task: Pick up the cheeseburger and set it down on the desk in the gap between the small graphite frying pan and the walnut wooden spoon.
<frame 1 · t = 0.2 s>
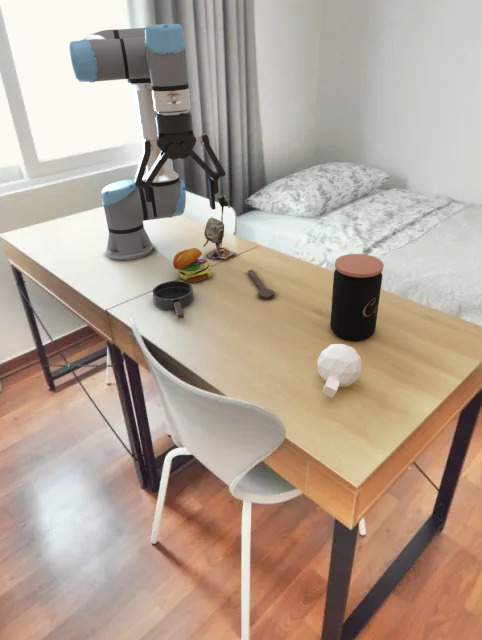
hand: (184, 211, 107), 28 cm above the table, tool pointing down, fingers open, 13 cm apart
cheeseburger: (193, 277, 141), on the table
perfume bottle: (333, 385, 96), on the table
coffee jar: (352, 331, 112), on the table
pan handle: (179, 317, 121), on the table
pan: (174, 301, 129), on the table
wooden spoon: (260, 287, 133), on the table
grey brown figurine: (218, 255, 154), on the table
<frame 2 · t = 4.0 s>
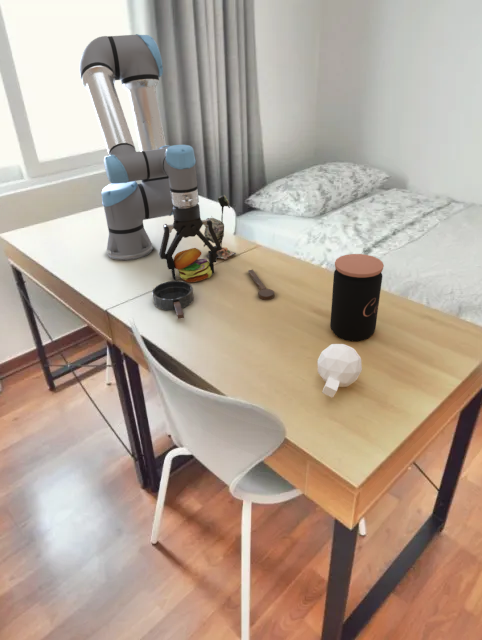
hand: (193, 275, 141), 1 cm above the table, tool pointing down, fingers closed on cheeseburger, 11 cm apart
cheeseburger: (193, 277, 141), on the table, touching gripper
everything else where it was.
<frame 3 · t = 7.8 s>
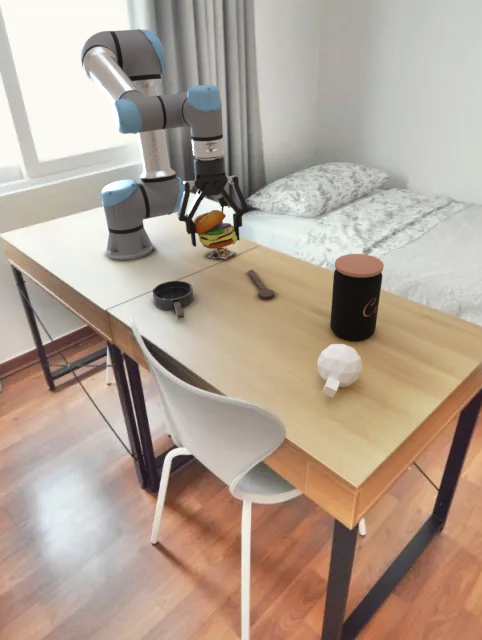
hand: (215, 241, 124), 15 cm above the table, tool pointing down, fingers closed on cheeseburger, 11 cm apart
cheeseburger: (215, 244, 124), point 15 cm above the table, touching gripper
everything else where it was.
when the fingers open (0 cm above the table, at t = 11.9 s): cheeseburger stays where it is, on the table.
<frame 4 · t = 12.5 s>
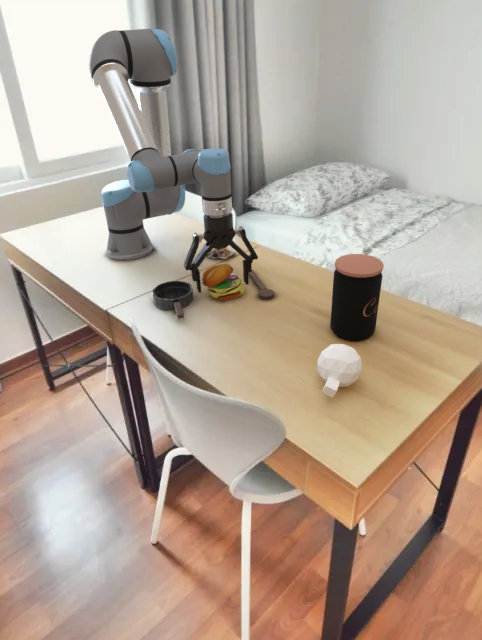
hand: (223, 286, 130), 2 cm above the table, tool pointing down, fingers open, 13 cm apart
cheeseburger: (223, 294, 131), on the table
everything else where it was.
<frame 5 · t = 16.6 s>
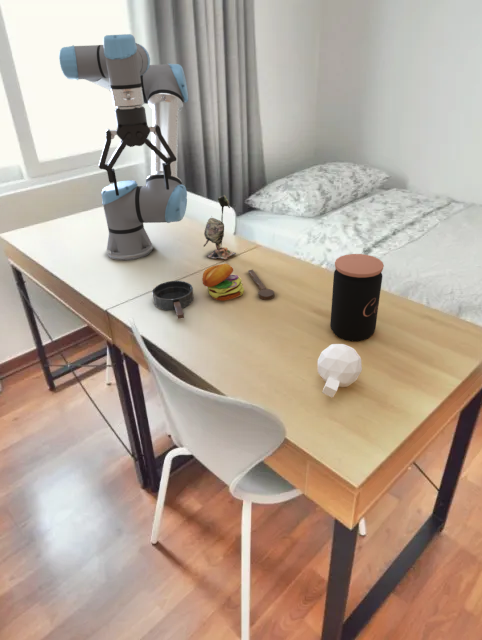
hand: (142, 191, 127), 27 cm above the table, tool pointing down, fingers open, 13 cm apart
nothing on the table moved.
at the end: cheeseburger inside the target area (0.5 cm from its centre), on the table; cheeseburger tilted 0°; the gripper is holding nothing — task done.
